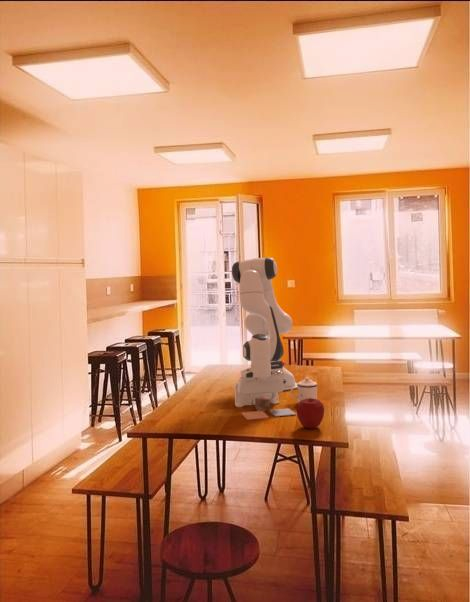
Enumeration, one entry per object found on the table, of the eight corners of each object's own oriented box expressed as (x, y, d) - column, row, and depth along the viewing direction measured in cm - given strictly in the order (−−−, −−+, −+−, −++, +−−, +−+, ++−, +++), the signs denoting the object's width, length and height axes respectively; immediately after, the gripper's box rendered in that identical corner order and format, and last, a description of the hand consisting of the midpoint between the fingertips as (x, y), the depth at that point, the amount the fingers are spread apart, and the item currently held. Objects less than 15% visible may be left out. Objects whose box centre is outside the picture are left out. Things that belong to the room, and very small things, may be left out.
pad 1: (262, 412, 221) (262, 410, 221) (268, 417, 212) (268, 416, 212) (241, 413, 219) (241, 412, 219) (247, 419, 210) (247, 418, 210)
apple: (299, 422, 205) (298, 393, 204) (326, 424, 202) (325, 394, 201) (294, 431, 195) (293, 400, 194) (322, 433, 192) (322, 402, 191)
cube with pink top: (266, 407, 229) (266, 396, 229) (269, 410, 224) (269, 399, 224) (255, 408, 228) (255, 397, 227) (258, 411, 223) (258, 400, 222)
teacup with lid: (317, 400, 238) (317, 375, 237) (317, 405, 229) (317, 380, 228) (291, 400, 240) (291, 375, 239) (290, 405, 231) (290, 379, 230)
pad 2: (288, 409, 224) (288, 408, 224) (295, 415, 215) (295, 413, 215) (268, 411, 222) (268, 410, 222) (275, 417, 213) (275, 415, 213)
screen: (276, 400, 239) (275, 379, 239) (279, 403, 234) (279, 381, 234) (234, 404, 235) (233, 382, 234) (236, 407, 230) (236, 385, 229)
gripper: (281, 369, 230) (281, 399, 231) (236, 371, 226) (237, 403, 226) (285, 371, 224) (286, 403, 225) (240, 374, 219) (240, 406, 220)
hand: (261, 403), depth 225 cm, fingers open, 8 cm apart
